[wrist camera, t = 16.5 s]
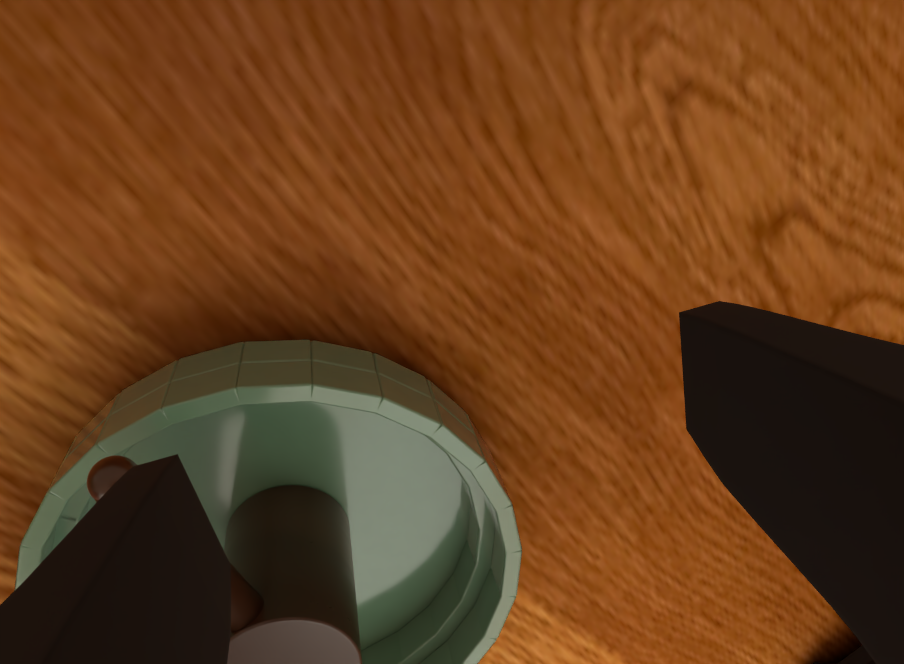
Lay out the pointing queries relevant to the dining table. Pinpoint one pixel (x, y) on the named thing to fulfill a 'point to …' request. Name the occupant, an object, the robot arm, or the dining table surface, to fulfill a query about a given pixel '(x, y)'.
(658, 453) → the dining table surface
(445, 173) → the dining table surface
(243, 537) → the scoop
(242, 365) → the green bowl
